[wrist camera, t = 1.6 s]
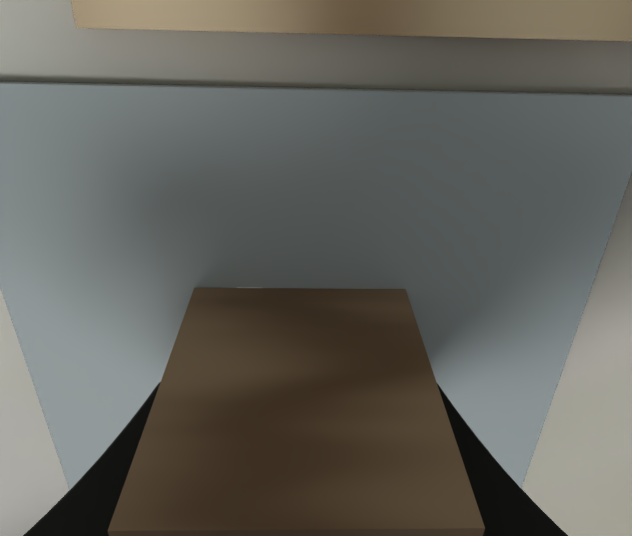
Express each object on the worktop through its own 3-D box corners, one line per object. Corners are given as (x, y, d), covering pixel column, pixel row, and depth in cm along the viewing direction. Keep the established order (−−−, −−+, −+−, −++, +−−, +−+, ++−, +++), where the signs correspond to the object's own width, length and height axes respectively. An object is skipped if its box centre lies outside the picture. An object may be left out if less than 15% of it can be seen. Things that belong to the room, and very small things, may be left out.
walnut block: (405, 289, 12) (484, 528, 7) (386, 436, 14) (432, 693, 9) (194, 287, 12) (107, 531, 7) (211, 436, 14) (158, 698, 9)
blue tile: (652, 94, 10) (658, 97, 10) (504, 523, 17) (506, 529, 17) (-64, 80, 10) (-71, 82, 9) (86, 526, 17) (83, 532, 16)
